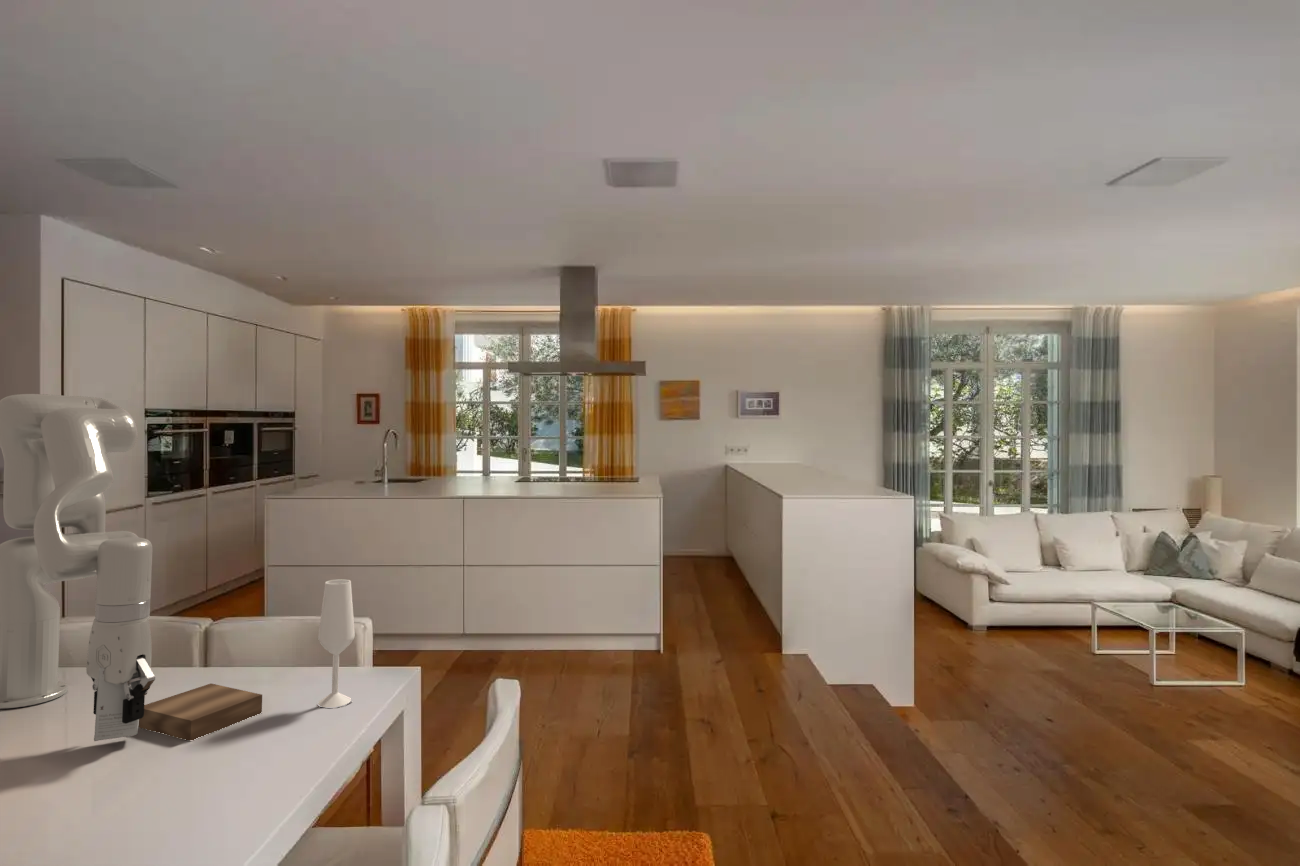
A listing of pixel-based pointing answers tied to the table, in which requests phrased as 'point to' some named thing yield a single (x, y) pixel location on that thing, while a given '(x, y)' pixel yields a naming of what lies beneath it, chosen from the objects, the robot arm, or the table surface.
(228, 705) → the walnut base
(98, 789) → the table surface
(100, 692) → the skincare box
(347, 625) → the champagne flute
